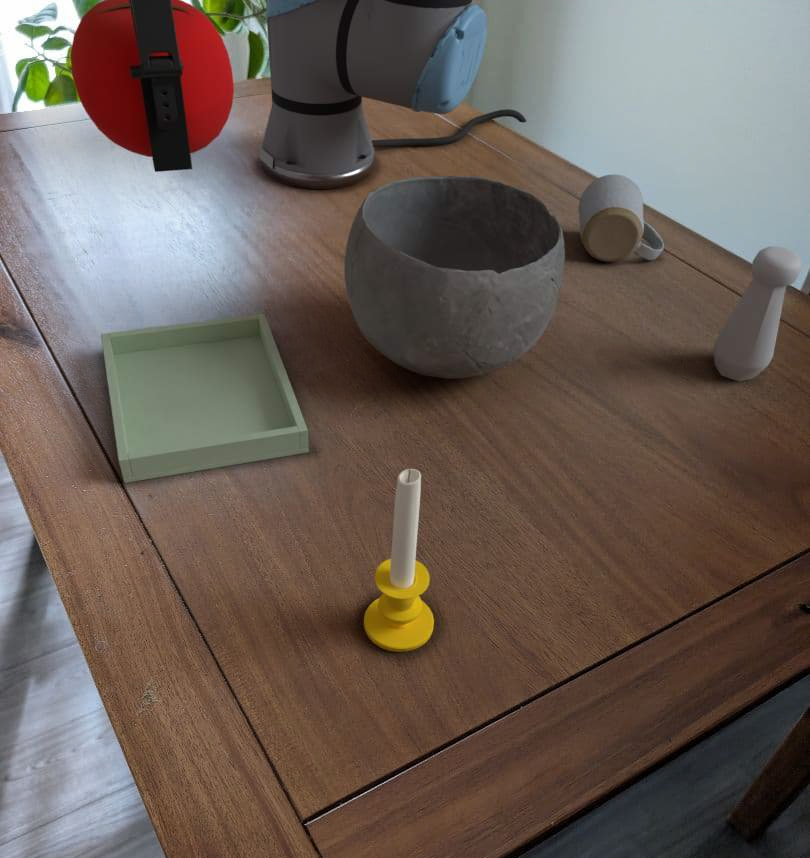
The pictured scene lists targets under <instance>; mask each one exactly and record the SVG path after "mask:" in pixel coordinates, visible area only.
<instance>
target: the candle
mask: <svg viewBox="0 0 810 858" xmlns="http://www.w3.org/2000/svg"><path fill="white" fill-rule="evenodd" d="M421 484H422V473H421V472H420V471H419V470H418V469H416V468H406V469H404V470H402V471H401V472H399V474H398V476H397V480H396V490H395V494H394V495H395V496H394V506H393V507H394V509H393V522H392V523H393V524H392V538H391V552H390V553H391V554H390V558H388V559H386V560H384V561H382V562H381V563H380V564H379V565H377V568H376V570H375V572H374V583H375V585H376V587H377V588H378V590H379V591H380V592H381V595H380V596H379V597H377V598H376V599H375V600H373V601H372V602H371V603H370V604H369V605H368V607H367V608H366V609H365V612H364V617H363V627H364V631H365V634H366V636H367V637H368V639H369V640H370V641H371V642H372V643H373V644H375V645H376V646H378V647H379V648H381V649H383V650H386V651H389V652H394V653H405V652H410V651H413V650H417V649H419V648H421V647H422V646H424V645H425V644H426V643H427V642H428V641H429V640H430V639H431V637H432V634H433V632H434V624H435V619H434V614H433V612H432V610H431V608H430V606H428V605H427V604H426V602H424V601H423V600H422V599H421V597H420V595H423V594H424V593H425V592H426V591H427V589H428V587H429V586H430V580H431V577H430V573H429V570H428V568H427V567H426V566H425V565H424V564H423V563H422V562H420V561H418V560H417V559H416V558H417V557H416V556H417V545H418V532H419V530H418V529H419V520H420V519H419V516H420V508H421V507H420V506H421V505H420V504H421V493H422V491H421V488H422V485H421Z"/></svg>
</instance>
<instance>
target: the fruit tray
mask: <svg viewBox="0 0 810 858" xmlns="http://www.w3.org/2000/svg"><path fill="white" fill-rule="evenodd" d="M100 338H101V346H102V352H103V353H102V354H103V359H104V367H105V373H106V382H107V388H108V395H109V396H108V397H109V402H110V409H111V416H112V424H113V431H114V439H115V447H116V452H117V460H118V465H119V468H120V472H121V476H122V480H123V483H124V484H128V483H133V482H140V481H145V480H151V479H157V478H165V477H170V476H175V475H181V474H188V473H194V472H200V471H206V470H211V469H218V468H223V467H230V466H235V465H242V464H249V463H253V462H254V463H255V462H259V461H265V460H272V459H277V458H284V457H291V456H296V455H301V454H307V453H309V452H310V451H309V432H308V431H309V429H308V427H307V424H306V422H305V419H304V416H303V413H302V411H301V408H300V405H299V403H298V400H297V397H296V395H295V392H294V389H293V386H292V383H291V381H290V378H289V376H288V373H287V370H286V368H285V366H284V363H283V359H282V357H281V354H280V351H279V349H278V345H277V344H276V341H275V338H274V335H273V332H272V330H271V327H270V324H269V322H268V319H267V317H266V314H265V313H259V314H258V313H257V314H250V315H242V316H234V317H226V318H218V319H210V320H209V319H208V320H201V321H195V322H194V321H193V322H185V323H178V324H177V323H176V324H170V325H161V326H153V327H145V328H137V329H128V330H121V331H113V332H106V333H100Z"/></svg>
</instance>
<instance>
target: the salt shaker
mask: <svg viewBox="0 0 810 858" xmlns="http://www.w3.org/2000/svg"><path fill="white" fill-rule="evenodd" d="M802 267H803V261H802V260H801V257H800V256H799V254H797V253H796V252H794V251H793V250H790V249H789V248H787V247H782V246H767V247H765V248H762V249H760V250H759V251H758V252H757V254H756V256H754V259H753V260H752V264H751V266H750V271H751V275H752V279H751V280H750V282H749V284H748V286H747V287H746V288H745V290H744V292H743V294H742V296H741V297H740V299H739V300H738V302H737V304H736V305H735V308H734V309H733V311H732V313H731V315H730V316H729V318H728V319H727V321H726V323H725V324H724V326H723V328H722V330H721V331H720V333H719V334H718V336H717V338H716V340H715V341H714V344H713V358H714V359H713V361H714V366H715V367H716V370H717V371H718V373H719V374H720V376H722V377H725V378H727V379H730V380H733V381H736V382H743V381H748V380H754V379H755V378H756V377H757V376H758V375H759V374H761V372H763V371H764V370H765V369H766V368H767V367H768V366H769V365H770V363H771V361H772V359H773V358H774V353H775V347H776V342H777V337H778V332H779V326H780V322H781V321H780V320H781V316H782V311H783V310H782V309H783V305H784V299H785V294H786V289H787V286H790V285H793V284H794V283H795V282H796V281H797V279H798V277H799V275H800V273H801V271H802Z"/></svg>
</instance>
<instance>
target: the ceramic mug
mask: <svg viewBox="0 0 810 858" xmlns="http://www.w3.org/2000/svg"><path fill="white" fill-rule="evenodd" d="M578 216H579V217H578V218H579V230H580V233H579V234H580V238H581V242H582V245H583V247H584V249H585V250H586V252H587V253H588V254H589V255H590V256H591V257H592V258H593V259H596V260H598V261H602V262H606V263H609V262H610V263H611V262H612V263H614V262H618V261H622V260H624V259H626V258H628V257H629V256H631V255H632V254H635V255H636V256H638V257H640V258H642V259H644V260H647V261H654V260H656V259H657V258H659V256H660V255H661V253H663V251H664V248H665V244H664V240H663V239H662V237H661V235H660V234H659V233H658V232H657V230H655V229H654V228H653V227H652V226H651V225H650V224H649V223H647V221H645V220H644V198H643V195H642V191H641V190H640V187H639V186H638V185H637V184H636V182H634V181H633V180H632V179H630V178H629V177H627V176H625V175H620V174H607V175H602V176H600V177H598V178H596V179H595V180H593V181H592V182H590V183H589V184H588V185H587V186H586V187H585V189H584V190H583V192H582V194H581V197H580V198H579V203H578ZM642 238H643V239H644V240H645V241H646V242H647V243H648V244H649V245H650V246H651V247H650V246H648V245H647V244H645V243H643V242H642Z"/></svg>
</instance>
